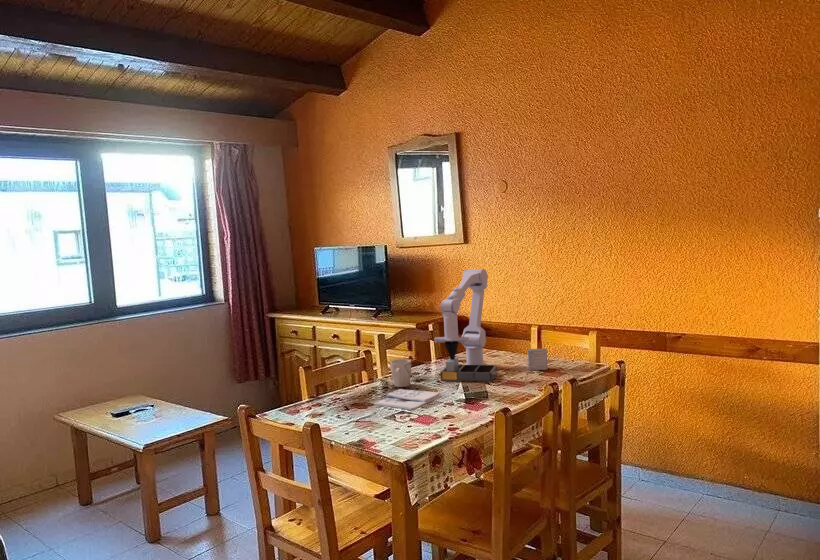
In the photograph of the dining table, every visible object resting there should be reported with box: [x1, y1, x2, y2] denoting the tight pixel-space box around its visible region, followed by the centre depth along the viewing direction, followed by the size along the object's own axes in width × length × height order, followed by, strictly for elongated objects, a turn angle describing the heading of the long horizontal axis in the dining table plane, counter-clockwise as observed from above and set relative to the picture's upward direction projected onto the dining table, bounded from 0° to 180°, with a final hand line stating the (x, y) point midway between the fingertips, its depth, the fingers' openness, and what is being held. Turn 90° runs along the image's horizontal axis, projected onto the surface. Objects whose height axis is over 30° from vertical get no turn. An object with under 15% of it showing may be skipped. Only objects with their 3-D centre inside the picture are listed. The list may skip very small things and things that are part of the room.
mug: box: [390, 358, 412, 388], centre depth 249 cm, size 11×8×10 cm
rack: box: [440, 364, 498, 383], centre depth 258 cm, size 14×21×4 cm, turn 73°
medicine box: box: [527, 348, 549, 371], centre depth 265 cm, size 8×4×9 cm, turn 84°
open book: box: [373, 388, 442, 411], centre depth 229 cm, size 19×20×2 cm
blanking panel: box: [445, 356, 460, 372], centre depth 259 cm, size 9×3×7 cm, turn 163°
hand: (452, 359), depth 259 cm, fingers closed, pressing on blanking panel
